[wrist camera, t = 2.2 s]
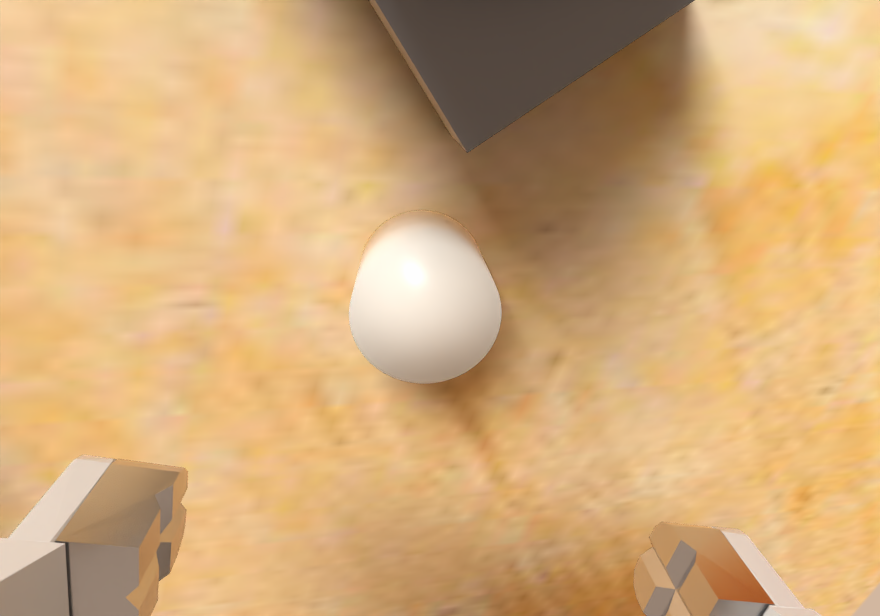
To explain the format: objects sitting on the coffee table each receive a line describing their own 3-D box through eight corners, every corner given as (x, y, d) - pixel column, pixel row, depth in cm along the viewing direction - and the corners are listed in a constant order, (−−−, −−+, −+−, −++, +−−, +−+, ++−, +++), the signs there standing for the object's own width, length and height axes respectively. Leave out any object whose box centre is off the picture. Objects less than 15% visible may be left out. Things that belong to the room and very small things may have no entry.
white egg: (504, 285, 23) (528, 335, 19) (405, 345, 24) (405, 407, 19) (439, 185, 21) (449, 212, 17) (335, 254, 22) (317, 298, 18)
